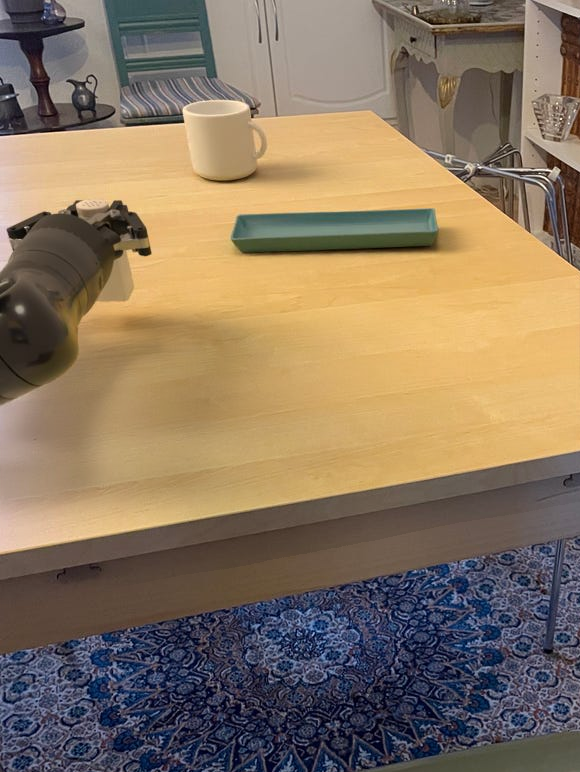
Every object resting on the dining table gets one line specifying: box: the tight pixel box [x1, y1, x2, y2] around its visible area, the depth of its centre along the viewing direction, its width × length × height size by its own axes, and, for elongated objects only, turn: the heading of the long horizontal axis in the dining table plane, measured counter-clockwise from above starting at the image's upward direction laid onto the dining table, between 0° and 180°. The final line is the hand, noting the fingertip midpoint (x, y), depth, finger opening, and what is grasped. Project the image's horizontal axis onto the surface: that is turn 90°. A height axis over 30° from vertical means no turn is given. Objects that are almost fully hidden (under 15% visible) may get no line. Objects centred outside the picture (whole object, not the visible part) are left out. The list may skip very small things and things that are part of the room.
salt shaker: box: [76, 198, 135, 303], centre depth 98 cm, size 4×4×10 cm
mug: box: [182, 99, 268, 182], centre depth 140 cm, size 12×10×9 cm
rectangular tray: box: [230, 207, 439, 253], centre depth 122 cm, size 26×9×2 cm, turn 95°
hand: (101, 210), depth 98 cm, fingers closed on salt shaker, 3 cm apart
